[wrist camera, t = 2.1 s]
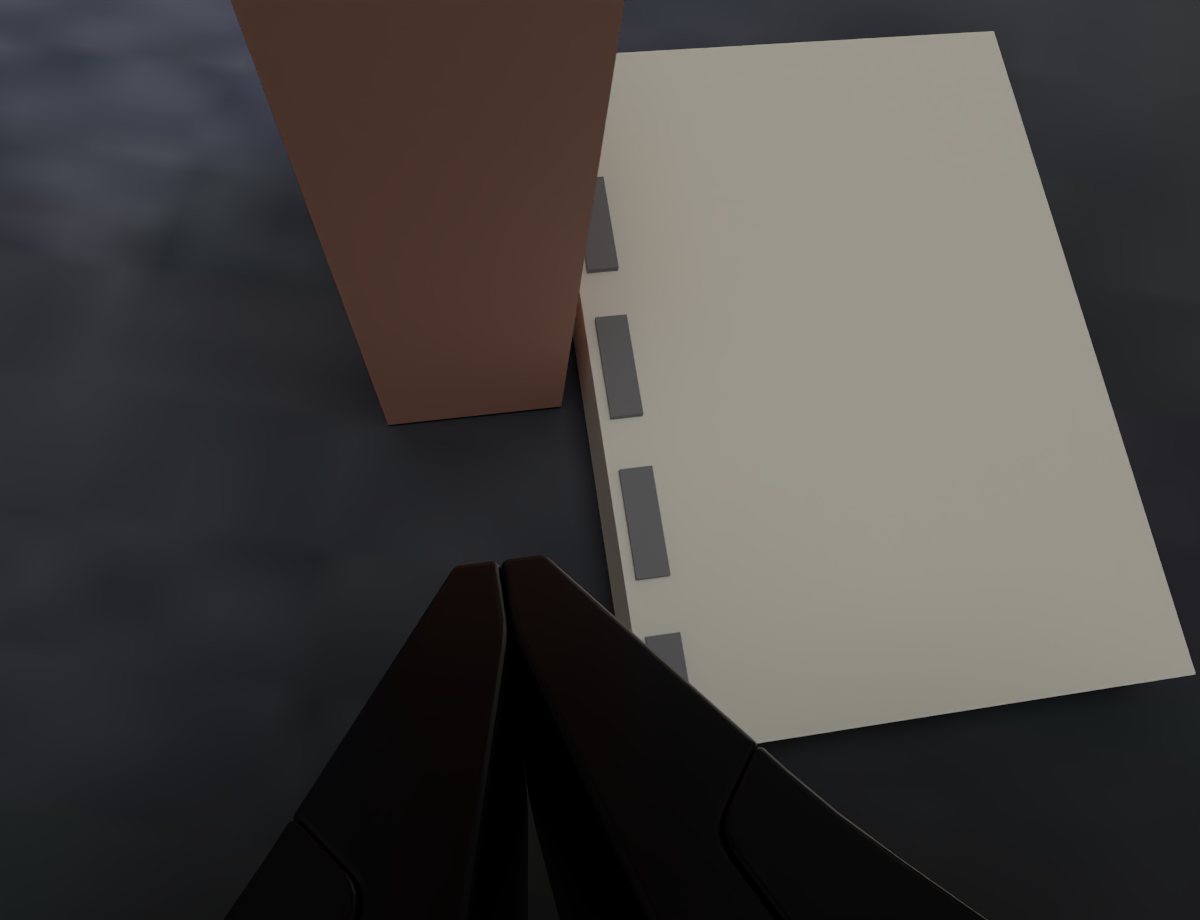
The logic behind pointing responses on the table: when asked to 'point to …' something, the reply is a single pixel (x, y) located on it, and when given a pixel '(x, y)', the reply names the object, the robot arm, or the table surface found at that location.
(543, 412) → the table surface
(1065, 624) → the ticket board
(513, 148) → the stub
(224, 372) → the table surface
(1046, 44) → the table surface
